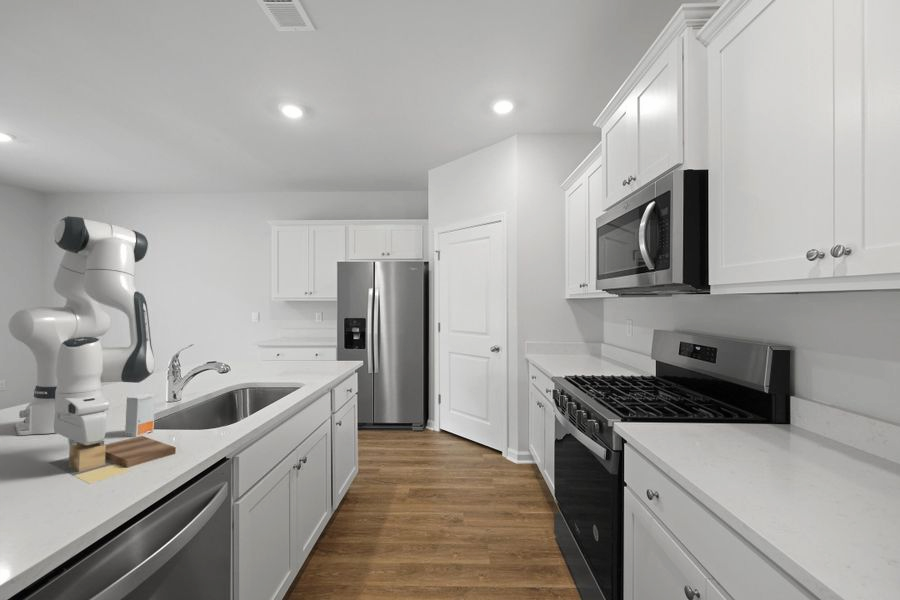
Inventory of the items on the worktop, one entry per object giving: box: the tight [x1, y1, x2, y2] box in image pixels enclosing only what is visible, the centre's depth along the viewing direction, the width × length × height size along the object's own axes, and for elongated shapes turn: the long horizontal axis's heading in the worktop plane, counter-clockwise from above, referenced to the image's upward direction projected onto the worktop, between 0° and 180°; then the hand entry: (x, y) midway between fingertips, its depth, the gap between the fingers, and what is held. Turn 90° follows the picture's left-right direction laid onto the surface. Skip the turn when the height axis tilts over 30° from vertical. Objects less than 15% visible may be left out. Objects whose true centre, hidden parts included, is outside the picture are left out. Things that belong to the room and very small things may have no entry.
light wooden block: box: [68, 440, 106, 472], centre depth 99 cm, size 6×5×6 cm
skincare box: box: [124, 393, 156, 438], centre depth 124 cm, size 6×4×12 cm
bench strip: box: [48, 457, 131, 484], centre depth 99 cm, size 23×8×1 cm, turn 62°
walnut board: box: [104, 435, 177, 469], centre depth 108 cm, size 18×11×2 cm, turn 62°
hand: (77, 455), depth 102 cm, fingers closed
